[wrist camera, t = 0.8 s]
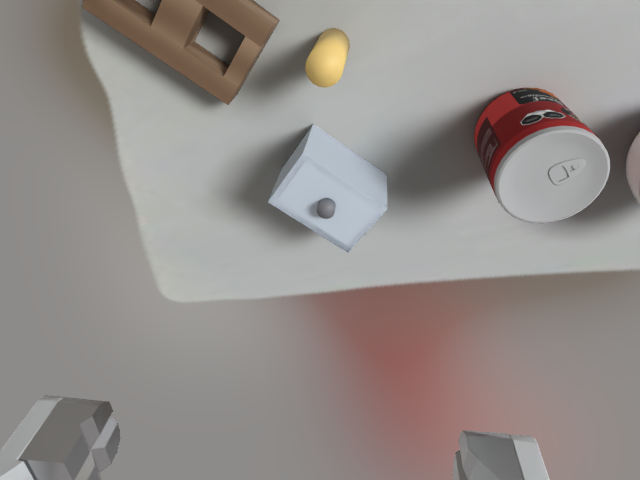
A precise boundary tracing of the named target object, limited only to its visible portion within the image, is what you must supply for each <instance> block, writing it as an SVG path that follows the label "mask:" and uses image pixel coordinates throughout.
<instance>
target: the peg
mask: <svg viewBox="0 0 640 480" xmlns="http://www.w3.org/2000/svg"><path fill="white" fill-rule="evenodd" d="M348 51H349V40H348V37H347V36H346V34H345V33H344V32H343V31H341V30H339V29H336V28H331V29H328V30H326V31H324V32H323V33H322V34H321V35H320V37H319V39H318V41H317V42H316V44H315V46H314V48H313V49H312V51H311V53H310V55H309V56H308V58H307V61H306V65H305V70H306V74H307V76H308V78H309V80H310V81H311V82H312V83H313V84H315V85H317V86H319V87H330V86H332V85H334V84H336V83H337V82H338V81H339V79H340V78H341V76H342V73H343V69H344V65H345V62H346V58H347V54H348Z"/></svg>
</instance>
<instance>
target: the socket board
mask: <svg viewBox="0 0 640 480" xmlns="http://www.w3.org/2000/svg"><path fill="white" fill-rule="evenodd" d="M82 7H83V8H84V9H86V10H87V11H89V12H90V13H92V14H93V15H95V16H96V17H98V18H99V19H101V20H102V21H103V22H105V23H106V24H108V25H109V26H111V27H112V28H114V29H115V30H117V31H118V32H120V33H121V34H123V35H124V36H126V37H127V38H129V39H130V40H132V41H133V42H135V43H136V44H138V45H139V46H141V47H142V48H144V49H145V50H147V51H148V52H150V53H151V54H153V55H154V56H156V57H157V58H159V59H160V60H162V61H163V62H165V63H166V64H168V65H169V66H171V67H172V68H174V69H175V70H177V71H178V72H180V73H181V74H182V75H184V76H185V77H187V78H188V79H190V80H191V81H193V82H194V83H196V84H197V85H199V86H200V87H202V88H203V89H205V90H206V91H208V92H209V93H211V94H212V95H214V96H215V97H217V98H218V99H220V100H221V101H223V102H224V103H226V104H227V105H229V103H230V102H231V101H232V100H233V99H234V98H235V96H236V95H237V94H238V92H239V90H240V88H241V87H242V85H243V83H244V81H245V80H246V78H247V76H248V74H249V73H250V71H251V69H252V67H253V66H254V64H255V62H256V61H257V59H258V57H259V55H260V54H261V52H262V50H263V48H264V47H265V45H266V43H267V41H268V40H269V38H270V36H271V34H272V33H273V31H274V29H275V27H276V26H277V24H278V22H279V19H277V18H276V17H275V16H273V15H272V14H271V13H269V12H268V11H267V10H265V9H264V8H263V7H261V6H260V5H259V4H257V3H256V2H254V1H253V0H162V1H161V3H160V6H159V8H158V10H157V13H156V15H155V14H154V13H153V12H151V11H150V10H148V9H147V8H145V7H144V6H142V5H141V4H140V3H138V2H137V1H135V0H84V1H83V4H82ZM209 11H211V12H212V13H213V14H215V15H216V16H218V17H219V18H220V19H222V20H223V21H225V22H226V23H227V24H229V25H230V26H232V27H233V28H234V29H236V30H237V31H239V32H240V33H241V34H243V35H244V36H245V38H244V40H243V42H242V44H241V45H240V47H239V49H238V51H237V53H236V55H235V56H234V58H233V60H232V62H231V64H230V66H229V65H228V64H226V63H225V62H223V61H222V60H220V59H219V58H217V57H216V56H215V55H213V54H212V53H210V52H209V51H207V50H206V49H204V48H203V47H202V46H200V45H199V44H197V43H196V42H194V41H195V39H196V37H197V35H198V33H199V31H200V29H201V26H202V24H203V22H204V20H205V18H206V16H207V14H208V12H209Z"/></svg>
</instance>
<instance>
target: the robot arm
mask: <svg viewBox="0 0 640 480" xmlns="http://www.w3.org/2000/svg"><path fill="white" fill-rule="evenodd" d="M112 412H113V409H112V407H111V404H110V402H108V401H98V400H87V399H78V398H69V397H60V396H48V395H45V396H43V397H42V398H40V399H39V400H38V401H37V402H36V403H35V404H34V406H33V407H32V408H31V410H30V411H29V412H28V414H27V415H26V416H25V418H24V419H23V421H22V422H21V423H20V425H19V426H18V427H17V429H16V430H15V431H14V433H13V434H12V435H11V437H10V438H9V439H8V441H7V442H6V443H5V445H4V446H3V448H2V449H1V450H0V480H101V474H100V472H102V471H103V470H104V469H105V468H107V467H108V466H109V465H111V464H112V462H113V459H114V457H115V455H116V453H117V450H118V446H119V442H120V429H119V426H118V423H117V422H116V421H114V420H113V419H112V418H111V417H110V416H111V414H112ZM459 446H460V450H459V451H457V452H456V453H455V457H454V462H453V480H549V477H548V474H547V471H546V467H545V464H544V461H543V459H542V455H541V452H540V449H539V446H538V444H537V441H536V440H535V438H534V437H532V436H523V435H508V434H506V433H489V432H475V431H462V432H461V433H460V437H459Z"/></svg>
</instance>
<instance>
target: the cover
mask: <svg viewBox="0 0 640 480" xmlns="http://www.w3.org/2000/svg"><path fill="white" fill-rule="evenodd" d="M268 203H270V204H271V205H273V206H275V207H276V208H278V209H279V210H281V211H283V212H284V213H286V214H287V215H289V216H291V217H292V218H294V219H295V220H297V221H298V222H300V223H302V224H303V225H305V226H306V227H308V228H310V229H311V230H313V231H314V232H316V233H318V234H319V235H321V236H322V237H324V238H325V239H327V240H329V241H330V242H332V243H333V244H335V245H337V246H338V247H340V248H341V249H343V250H345V251H346V252H349V251H350V250H351V248H352V247H353V246H354V245H355V244H356V243H357V242H358V241H359V240H360V239H361V238H362V236H363V235H364V234H365V233H366V232H367V231H368V230H369V229H370V228H371V227H372V225H373V224H374V223H375V222H376V221H377V220H378V219H379V218H380V217H381V216H382V215H383V213H384V212H385V211H386V210H387V175H386V174H385V173H383V172H382V171H380V170H379V169H377V168H376V167H375V166H373V165H372V164H370V163H369V162H367V161H366V160H365V159H363V158H362V157H360V156H359V155H357V154H356V153H354V152H353V151H352V150H350V149H349V148H347V147H346V146H344V145H343V144H341V143H340V142H339V141H337V140H336V139H334V138H333V137H331V136H330V135H328V134H327V133H326V132H324V131H323V130H321V129H320V128H318V127H317V126H316V125H314V124H313V125H312V126H311V128H310V129H309V131H308V132H307V134H306V135H305V136H304V138H303V139H302V141H301V142H300V144H299V145H298V146H297V148H296V149H295V151H294V152H293V154H292V155H291V156H290V158H289V159H288V161H287V162H286V163H285V165H284V166H283V168H282V169H281V171H280V174H279V176H278V179H277V181H276V183H275V186H274V188H273V191H272V193H271V195H270V198H269V200H268Z"/></svg>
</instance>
